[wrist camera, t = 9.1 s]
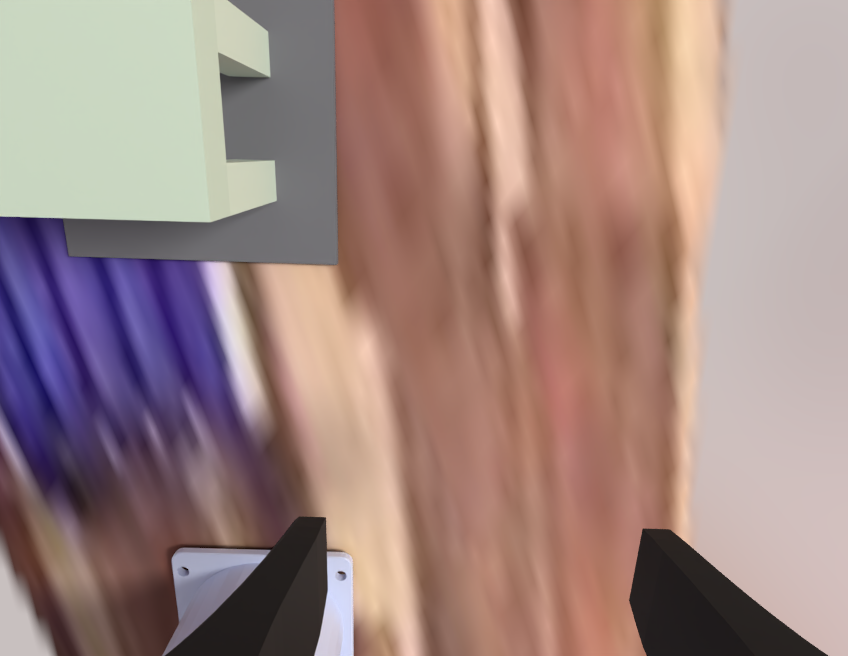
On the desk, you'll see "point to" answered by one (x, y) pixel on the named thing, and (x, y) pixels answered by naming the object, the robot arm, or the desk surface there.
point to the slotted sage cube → (125, 110)
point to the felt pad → (259, 157)
